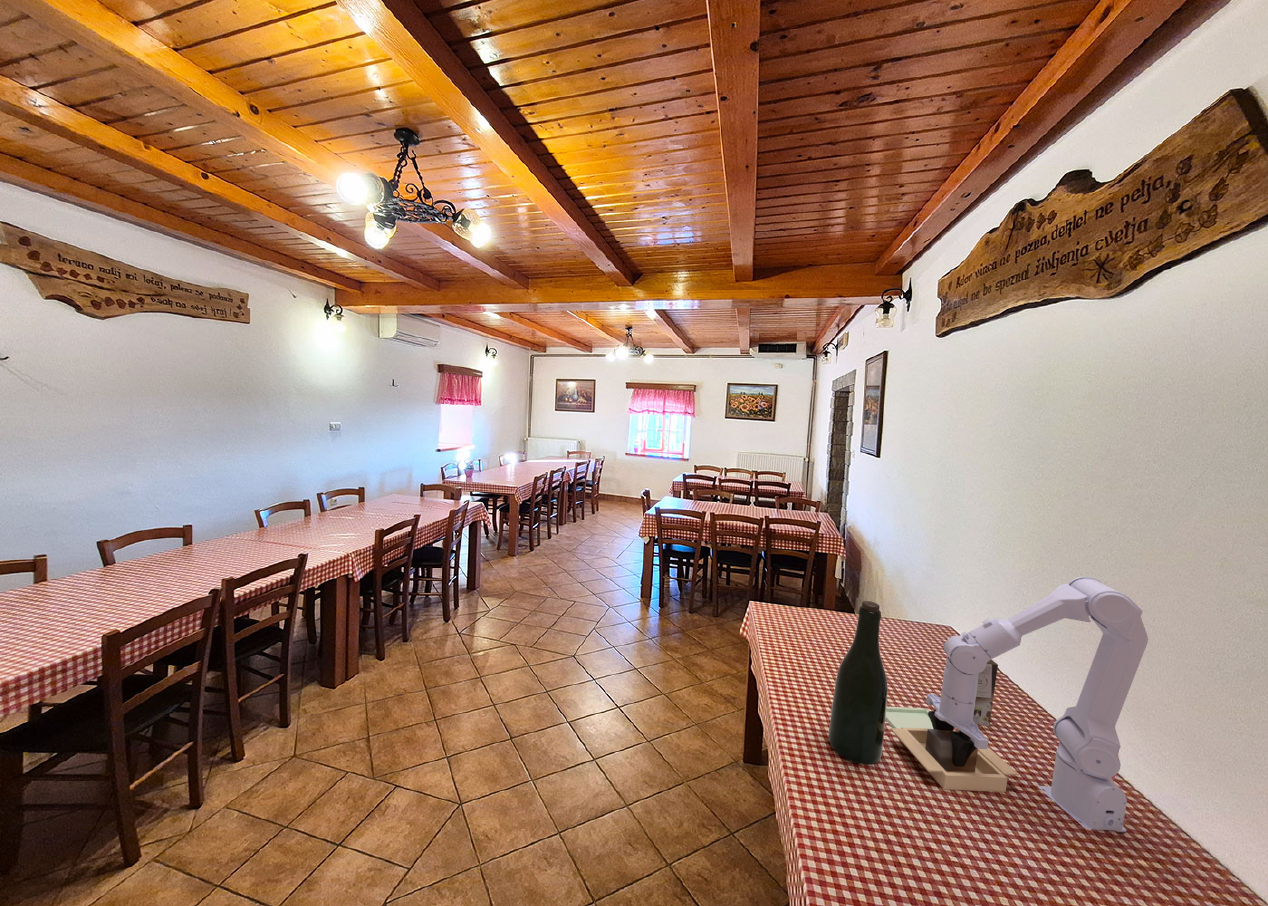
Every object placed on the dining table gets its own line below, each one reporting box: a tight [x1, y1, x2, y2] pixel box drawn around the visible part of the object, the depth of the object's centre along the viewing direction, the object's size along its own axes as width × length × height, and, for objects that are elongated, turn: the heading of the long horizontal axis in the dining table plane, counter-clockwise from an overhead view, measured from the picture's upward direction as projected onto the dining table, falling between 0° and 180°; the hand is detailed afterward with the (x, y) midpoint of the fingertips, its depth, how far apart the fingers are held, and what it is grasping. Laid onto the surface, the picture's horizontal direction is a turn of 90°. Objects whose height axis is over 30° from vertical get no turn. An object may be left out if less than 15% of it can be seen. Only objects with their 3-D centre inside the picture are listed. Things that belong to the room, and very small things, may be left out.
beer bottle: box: [828, 600, 889, 765], centre depth 96 cm, size 10×10×33 cm
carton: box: [890, 727, 1019, 793], centre depth 94 cm, size 14×19×4 cm
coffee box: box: [973, 659, 999, 727], centre depth 112 cm, size 9×6×16 cm
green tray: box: [885, 706, 933, 729], centre depth 107 cm, size 10×13×1 cm
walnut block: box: [925, 729, 978, 772], centre depth 94 cm, size 4×8×6 cm, turn 92°
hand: (950, 756), depth 94 cm, fingers closed on walnut block, 4 cm apart
